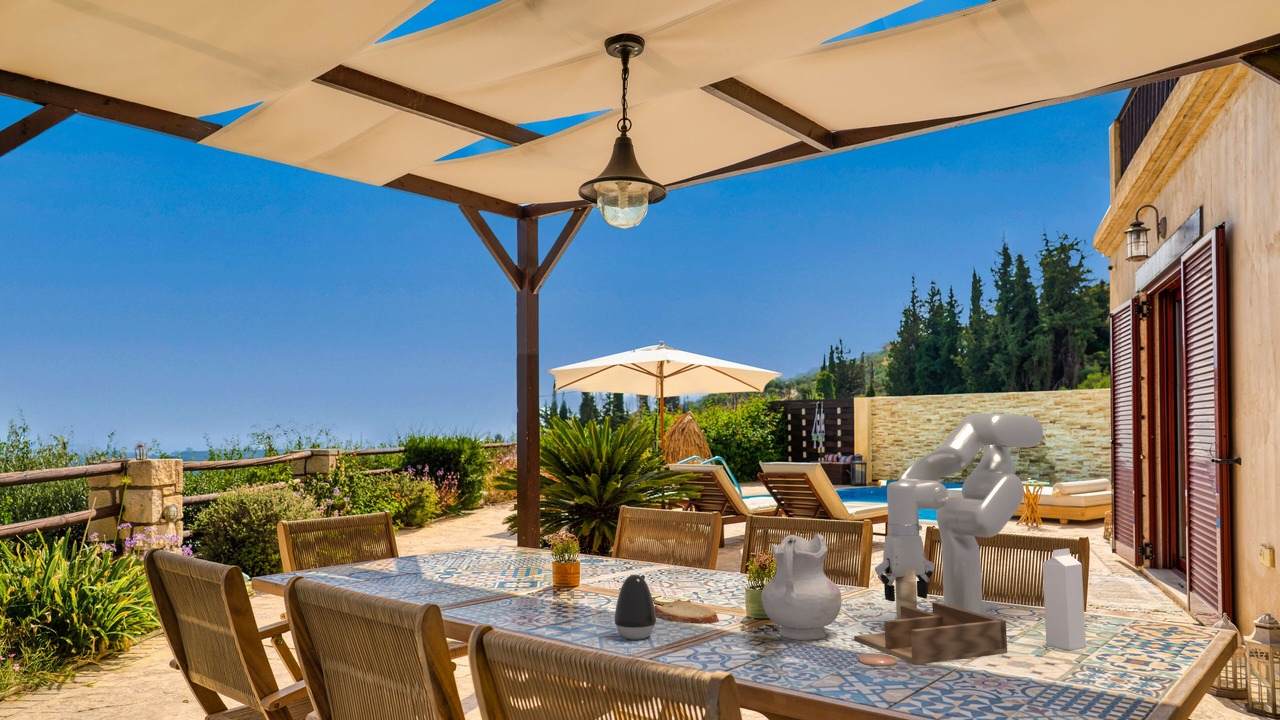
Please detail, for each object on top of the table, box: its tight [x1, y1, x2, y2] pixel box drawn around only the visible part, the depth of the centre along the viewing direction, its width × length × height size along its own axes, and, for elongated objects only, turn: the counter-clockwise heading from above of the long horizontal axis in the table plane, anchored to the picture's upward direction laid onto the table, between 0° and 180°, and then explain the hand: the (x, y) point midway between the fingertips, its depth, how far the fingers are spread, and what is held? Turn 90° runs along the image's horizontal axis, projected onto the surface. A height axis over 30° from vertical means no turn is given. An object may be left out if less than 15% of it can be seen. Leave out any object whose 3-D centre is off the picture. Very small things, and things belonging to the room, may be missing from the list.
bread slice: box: [654, 598, 720, 625], centre depth 242 cm, size 18×18×4 cm
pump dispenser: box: [614, 574, 657, 641], centre depth 219 cm, size 10×10×15 cm
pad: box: [858, 653, 898, 667], centre depth 193 cm, size 8×8×1 cm
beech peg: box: [894, 569, 918, 620], centre depth 224 cm, size 5×5×15 cm
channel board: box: [853, 601, 1008, 665], centre depth 206 cm, size 24×24×7 cm
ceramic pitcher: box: [760, 532, 842, 641], centre depth 218 cm, size 22×20×25 cm
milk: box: [1042, 547, 1087, 651], centre depth 205 cm, size 6×6×22 cm
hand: (906, 599), depth 224 cm, fingers open, 9 cm apart
